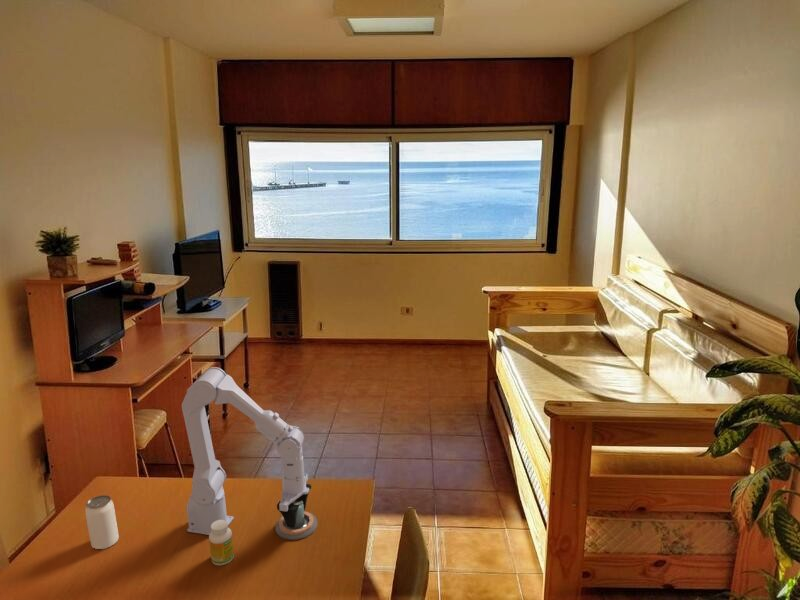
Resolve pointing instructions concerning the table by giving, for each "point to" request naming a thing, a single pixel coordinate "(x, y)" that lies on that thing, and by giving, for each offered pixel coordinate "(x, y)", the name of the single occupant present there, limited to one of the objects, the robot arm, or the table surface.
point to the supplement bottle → (221, 543)
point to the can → (101, 522)
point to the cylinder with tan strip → (299, 515)
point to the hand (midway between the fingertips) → (296, 518)
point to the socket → (297, 533)
